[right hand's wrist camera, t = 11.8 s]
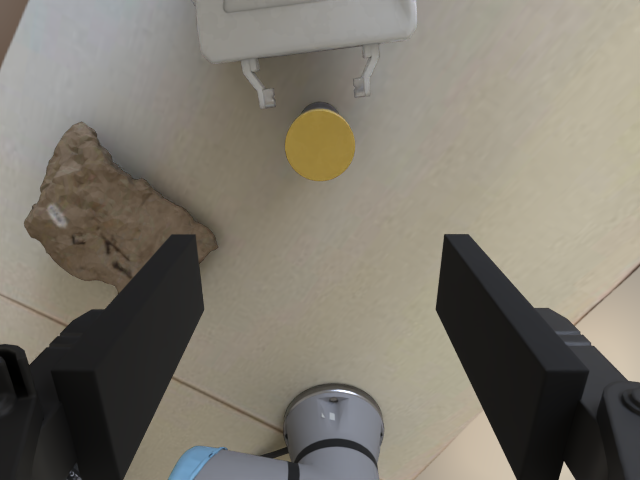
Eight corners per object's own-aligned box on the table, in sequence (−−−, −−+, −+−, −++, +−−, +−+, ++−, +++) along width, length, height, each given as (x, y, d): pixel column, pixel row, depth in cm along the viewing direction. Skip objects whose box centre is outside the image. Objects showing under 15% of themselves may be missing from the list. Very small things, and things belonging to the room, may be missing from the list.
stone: (-1, 209, 51) (-24, 224, 45) (83, 116, 50) (70, 119, 44) (149, 307, 59) (146, 329, 54) (222, 229, 59) (226, 243, 53)
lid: (308, 187, 39) (307, 193, 37) (273, 130, 37) (271, 133, 36) (365, 155, 38) (367, 159, 36) (332, 95, 36) (333, 96, 34)
